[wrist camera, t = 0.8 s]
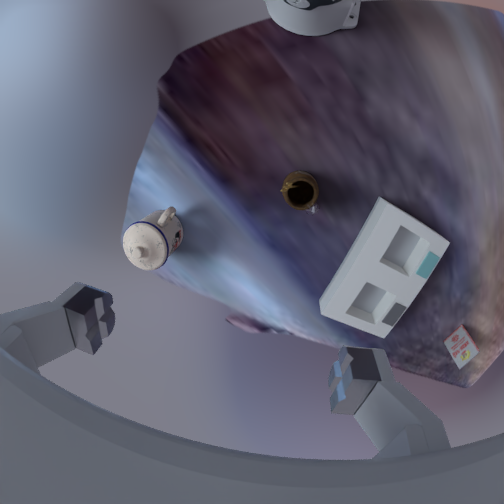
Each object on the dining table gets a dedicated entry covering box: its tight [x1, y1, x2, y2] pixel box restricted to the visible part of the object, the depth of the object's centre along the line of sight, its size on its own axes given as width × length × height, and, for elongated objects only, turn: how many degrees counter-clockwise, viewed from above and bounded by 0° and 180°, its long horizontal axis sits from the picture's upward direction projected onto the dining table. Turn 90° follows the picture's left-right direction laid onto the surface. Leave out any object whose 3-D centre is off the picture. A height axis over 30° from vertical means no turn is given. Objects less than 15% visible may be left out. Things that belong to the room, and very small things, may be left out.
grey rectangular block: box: [444, 325, 480, 369], centre depth 51 cm, size 4×7×10 cm, turn 142°
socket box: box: [319, 197, 450, 338], centre depth 49 cm, size 24×16×5 cm, turn 157°
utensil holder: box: [281, 171, 320, 215], centre depth 42 cm, size 6×6×12 cm
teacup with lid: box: [123, 207, 183, 270], centre depth 48 cm, size 12×9×12 cm
